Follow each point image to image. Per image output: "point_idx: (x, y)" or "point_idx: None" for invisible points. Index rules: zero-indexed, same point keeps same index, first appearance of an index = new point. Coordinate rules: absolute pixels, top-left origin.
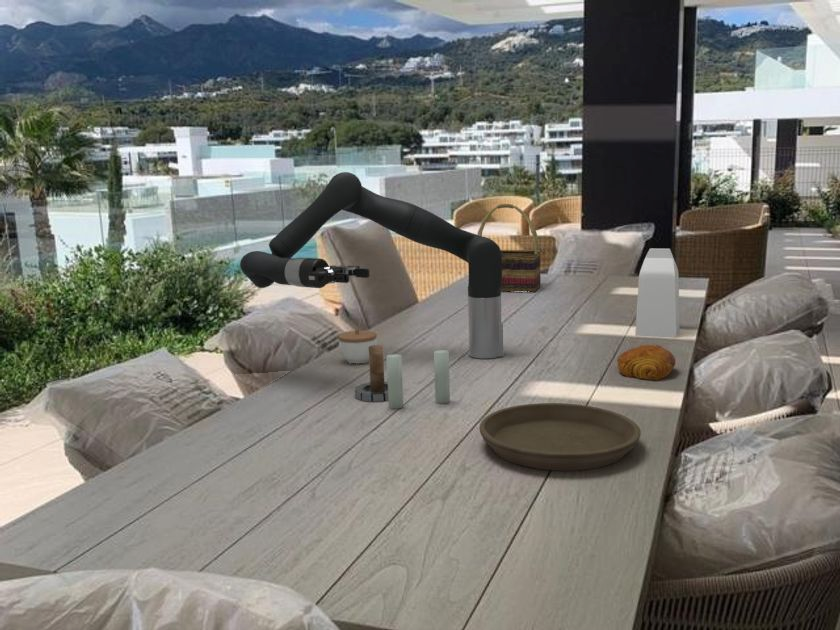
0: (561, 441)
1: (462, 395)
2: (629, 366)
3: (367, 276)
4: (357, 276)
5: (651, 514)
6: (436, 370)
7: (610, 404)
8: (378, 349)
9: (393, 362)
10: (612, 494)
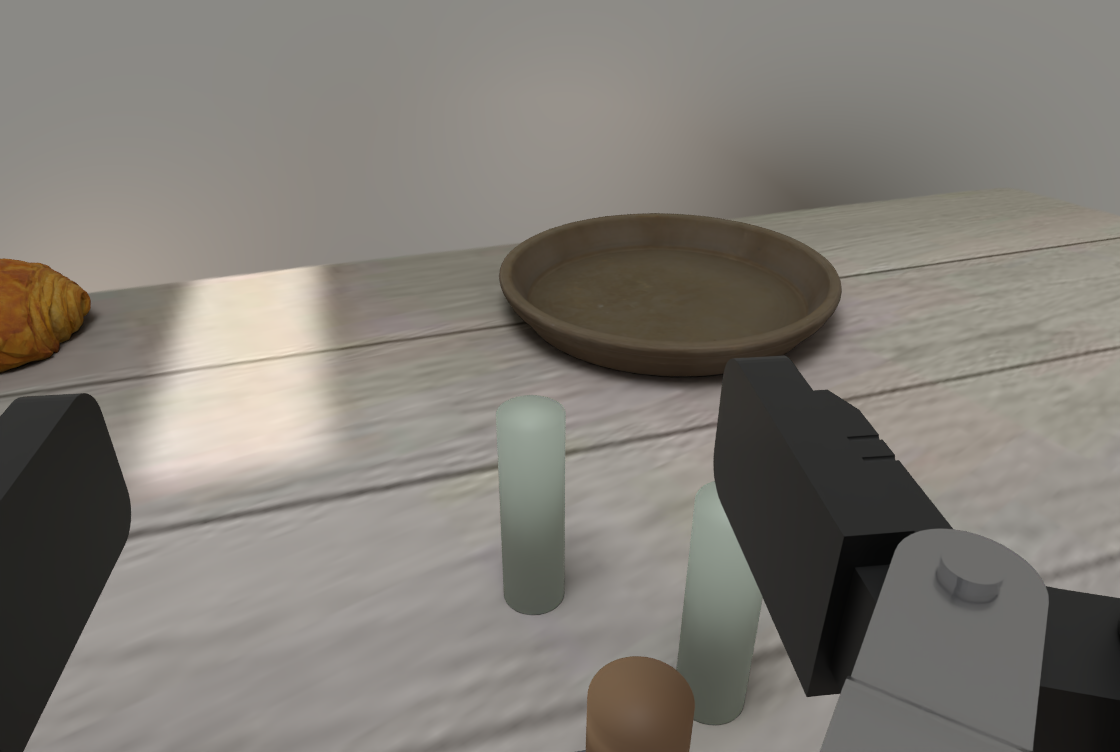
0: (656, 299)
1: (420, 578)
2: (45, 323)
3: (126, 505)
4: (29, 715)
5: (797, 211)
6: (564, 483)
7: (341, 322)
8: (659, 667)
9: None
10: None
